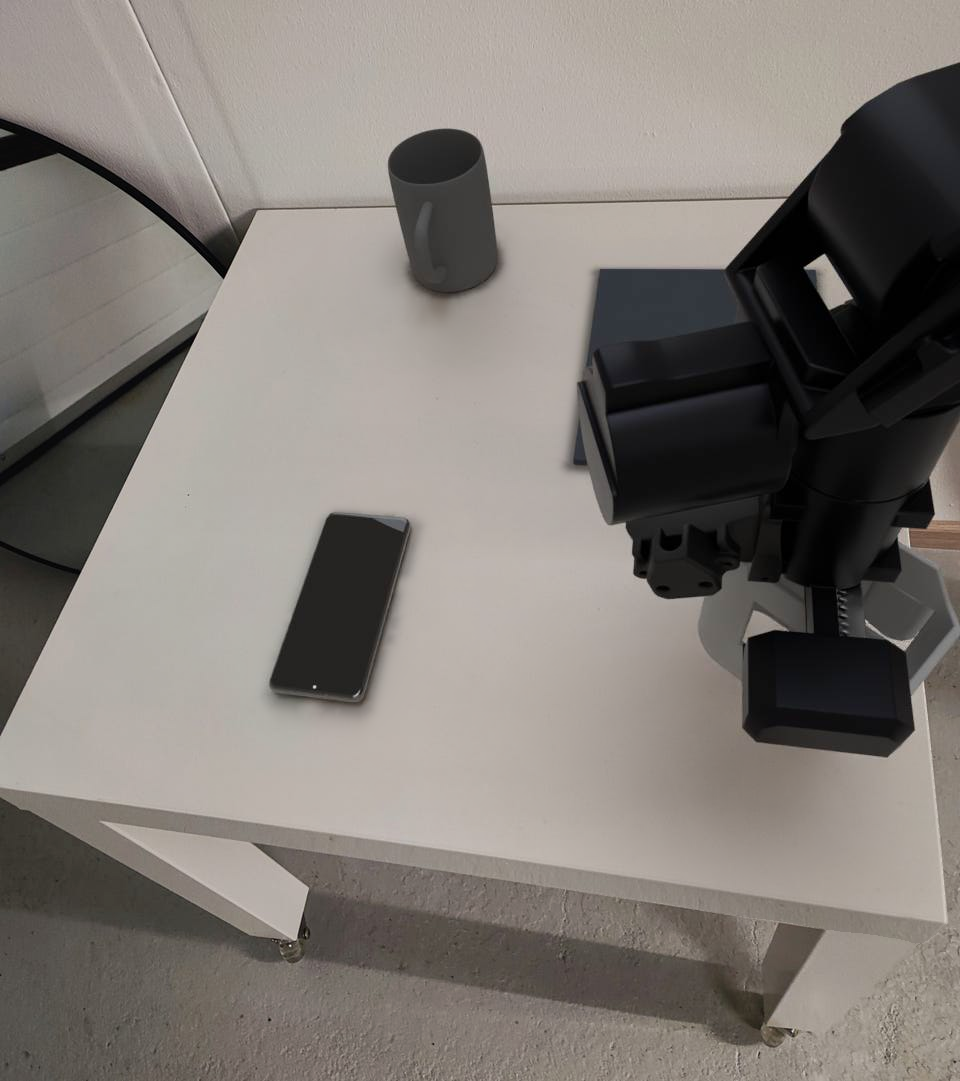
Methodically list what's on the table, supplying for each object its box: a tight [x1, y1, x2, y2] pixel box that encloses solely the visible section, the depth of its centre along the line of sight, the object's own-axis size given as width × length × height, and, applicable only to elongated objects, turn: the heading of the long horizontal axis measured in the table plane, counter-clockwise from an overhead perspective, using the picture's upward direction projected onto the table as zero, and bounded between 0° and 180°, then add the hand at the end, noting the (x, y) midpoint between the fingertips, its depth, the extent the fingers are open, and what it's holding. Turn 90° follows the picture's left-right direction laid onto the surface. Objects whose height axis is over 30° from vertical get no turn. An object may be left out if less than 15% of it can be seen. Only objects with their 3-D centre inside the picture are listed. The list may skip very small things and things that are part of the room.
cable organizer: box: [697, 540, 960, 697], centre depth 43 cm, size 7×12×12 cm, turn 44°
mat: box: [573, 268, 818, 466], centre depth 71 cm, size 20×24×1 cm
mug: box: [387, 127, 498, 293], centre depth 77 cm, size 14×9×12 cm
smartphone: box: [268, 511, 412, 703], centre depth 62 cm, size 7×1×16 cm
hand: (782, 627), depth 44 cm, fingers closed on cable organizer, 8 cm apart
